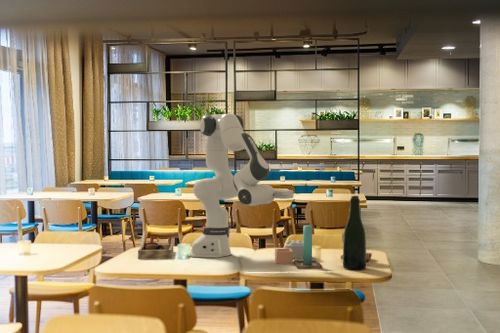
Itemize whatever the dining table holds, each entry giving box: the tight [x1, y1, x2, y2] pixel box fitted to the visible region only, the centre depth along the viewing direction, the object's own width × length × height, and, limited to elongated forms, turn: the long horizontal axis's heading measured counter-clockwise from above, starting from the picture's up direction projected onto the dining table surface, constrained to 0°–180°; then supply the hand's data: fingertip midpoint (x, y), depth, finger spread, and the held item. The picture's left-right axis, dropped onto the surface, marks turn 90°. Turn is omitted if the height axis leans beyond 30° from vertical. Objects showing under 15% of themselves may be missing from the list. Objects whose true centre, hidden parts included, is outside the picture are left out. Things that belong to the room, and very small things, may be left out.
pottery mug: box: [142, 241, 164, 250], centre depth 311 cm, size 12×10×8 cm
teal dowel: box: [302, 224, 313, 266], centre depth 283 cm, size 4×4×18 cm
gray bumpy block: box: [285, 239, 303, 260], centre depth 306 cm, size 10×13×9 cm
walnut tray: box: [293, 259, 323, 270], centre depth 283 cm, size 11×14×2 cm
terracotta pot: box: [274, 248, 294, 265], centre depth 292 cm, size 8×8×6 cm
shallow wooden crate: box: [137, 243, 174, 260], centre depth 314 cm, size 16×18×4 cm
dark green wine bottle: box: [342, 195, 367, 271], centre depth 281 cm, size 10×10×33 cm
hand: (281, 192), depth 295 cm, fingers open, 8 cm apart
